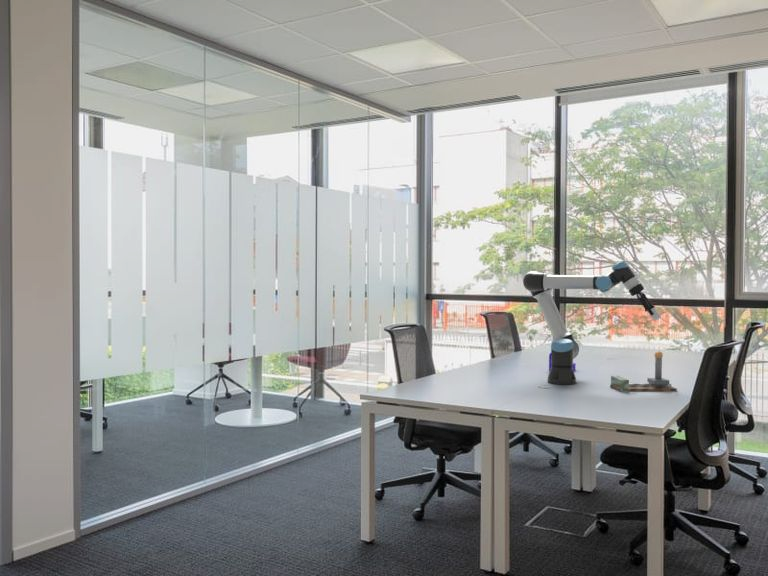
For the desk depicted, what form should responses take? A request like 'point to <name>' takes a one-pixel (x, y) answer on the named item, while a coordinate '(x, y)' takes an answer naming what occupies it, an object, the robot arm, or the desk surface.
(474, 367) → the desk surface
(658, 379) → the lever
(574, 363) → the bracket
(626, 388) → the track bed
